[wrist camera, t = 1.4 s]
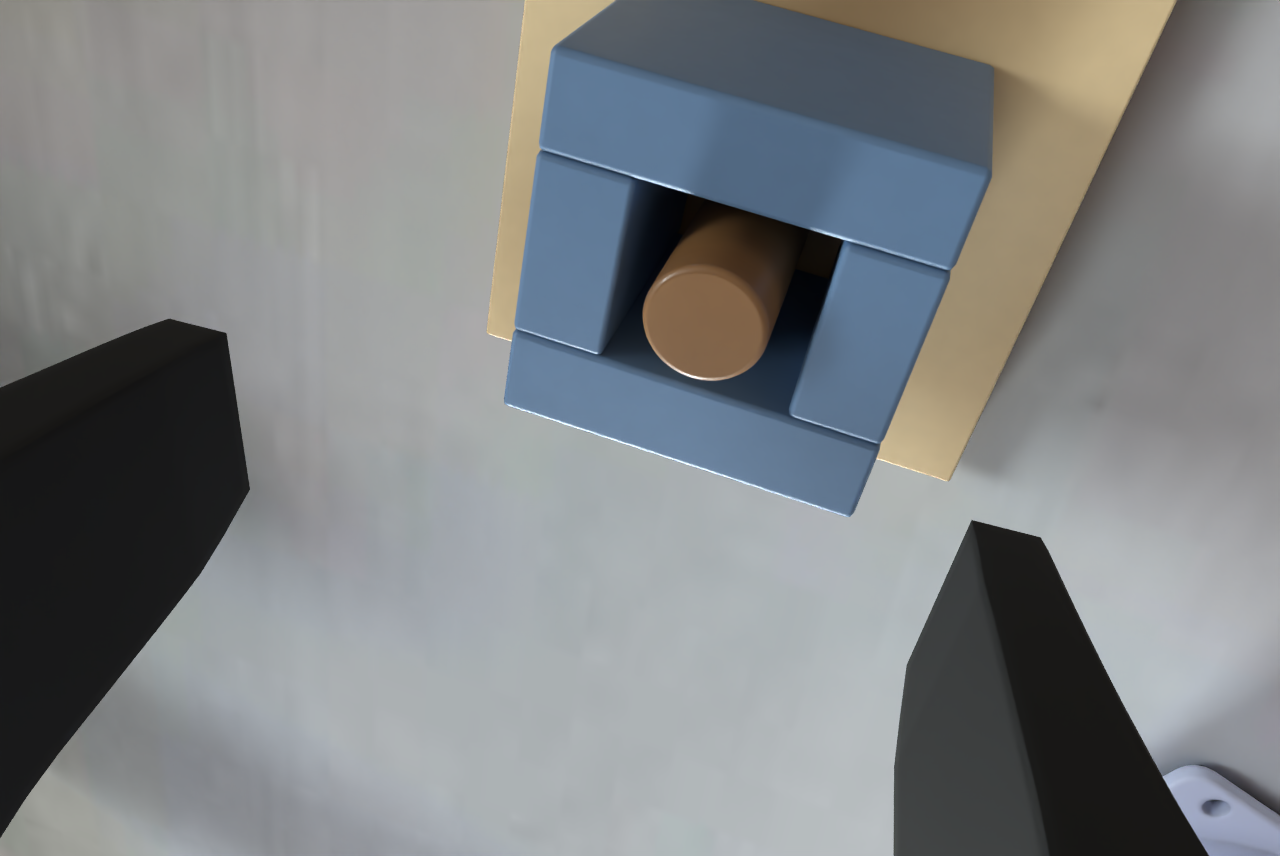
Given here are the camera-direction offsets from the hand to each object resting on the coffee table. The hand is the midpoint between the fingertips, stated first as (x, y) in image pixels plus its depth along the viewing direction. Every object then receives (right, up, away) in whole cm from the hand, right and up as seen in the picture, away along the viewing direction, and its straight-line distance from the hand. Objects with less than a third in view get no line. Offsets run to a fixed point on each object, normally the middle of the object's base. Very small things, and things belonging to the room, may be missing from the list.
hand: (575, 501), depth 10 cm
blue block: (+3, +5, +7) cm, 9 cm away
